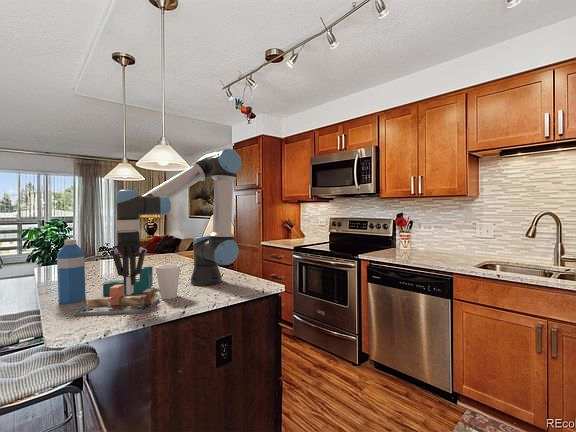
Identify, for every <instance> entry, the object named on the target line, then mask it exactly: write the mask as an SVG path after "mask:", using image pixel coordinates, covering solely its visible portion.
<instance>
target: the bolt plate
mask: <svg viewBox="0 0 576 432" xmlns="http://www.w3.org/2000/svg"><path fill="white" fill-rule="evenodd" d="M159 302H160V298H154V302H153V303H152V304H144V306H143V307H141V304H128V305H111V308H108V305H104V306H88V305H86V306H84V307H82V308H80V309H78V310H77V311H75V312H74V317H81V316H82V317H85V316H105V315H106V316H107V315H123V314H122V313H134V314H147V313H148V312H149V311H150V310H151V309H152V308H153V307H155V306H156V305H157V304H159ZM156 303H157V304H156ZM155 304H156V305H155ZM154 305H155V306H154ZM149 309H150V310H149ZM148 310H149V311H148ZM147 311H148V312H147ZM146 312H147V313H146ZM120 313H121V314H120Z"/></svg>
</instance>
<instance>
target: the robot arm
mask: <svg viewBox="0 0 576 432" xmlns="http://www.w3.org/2000/svg"><path fill="white" fill-rule="evenodd" d="M242 162H243V161H242V158H241V156H240V154H238V152H237V151H236V150H234V149H232V148H222V149H221V148H220V149H219V150H216V151H210V152H208V153H207V154H205V155H204V156H202V157H200V158H198V159H197V160H196V161H195V162H193V163H191V165H190V167H189V168H187V169H185V170H183V171H182V172H180V173H178V174H177V175H175V176H173V177H171V178H170V179H168V180H166V181H164V182H163V183H162V184H160V185H158V186H156V187H154V188H153V189H151V190H150V191H147V193H145V194H143V195H140V194H139V191H138V190H132V189H120V190H118V191H117V192H116V196H115V197H116V198H115V199H116V200H115V201H116V202H115V205H116V231H118V232H117V233H116V238H117V244H116V247H115V248H114V249H112V250H110V251H109V254H111V256H112V258H113V261H114V266H115V269H116V272H117V276H121V277H123V280H124V285H126V292H127V294H126V295H128V296H131V295H133V294H135V293H134V287H133V285H135V284H136V279H137V275H140V273H141V270H142V269H143V266H144V265H143V264H144V261H145V255H146V254H147V253H148V249H147V248H144V247H142V244H141V242H140V241H141V238H140V237H141V236H140V233H141V232H140V231H139V230H140V216H159V215H160V216H164V215H168V214H169V213H170V212H171V209H172V202H171V199H173V198H174V197H175V196H178V195H179V194H180V193H182V192H184V191H186V190H187V189H188V188H190V187H192V186H193V185H195V184H196V183H198V182H203V181H205V180H207V179H209V178H211V179H212V180H214V185H213V186H214V188H213V191H214V192H213V211H212V212H213V213H212V214H213V215H212V232H210V234H209V235H206V236H205V235H204V236H197V237H195V238H193V243H192V246H193V270H192V274H191V277H190V284H191V285H192V286H198V287H200V286H212V285H217V284H220V283H222V281H223V279H222V274H221V271H220V267H219V265H220V266H229V265H231V264H233V262H234V261H235V260H237V258H238V256H239V250H240V249H239V246H238V244H237V242H236V241H235V235H234V234H233V233H232V222H233V221H232V220H233V219H232V218H233V194H234V192H233V191H234V182H235V181H236V180H237V176H238V175H237V174H238V172H239V171H240V170H241V168H242V165H243V163H242ZM138 253H139V256H138V260H137V254H138ZM120 255H121V257H120ZM121 259H122V260H121ZM132 293H133V294H132Z"/></svg>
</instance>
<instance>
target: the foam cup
mask: <svg viewBox="0 0 576 432" xmlns="http://www.w3.org/2000/svg"><path fill="white" fill-rule="evenodd" d="M180 271H181V265H180V264H177V263H169V264H161V265H157V266H156V267H155V273H156V277H157V283H158V289H159V295H160V299H161V298H162V300H171V298H172V299H176V298H177V297H178V291H179V290H178V288H179V280H180V279H179V278H180Z"/></svg>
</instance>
